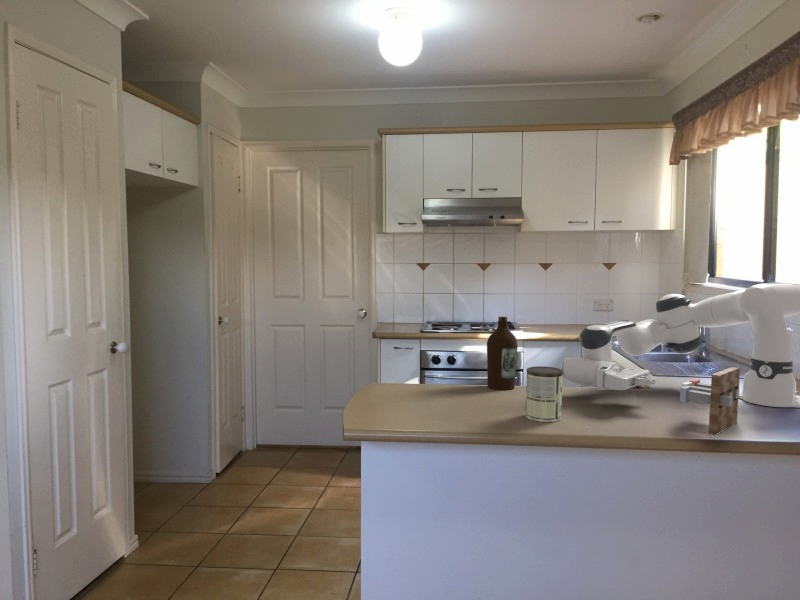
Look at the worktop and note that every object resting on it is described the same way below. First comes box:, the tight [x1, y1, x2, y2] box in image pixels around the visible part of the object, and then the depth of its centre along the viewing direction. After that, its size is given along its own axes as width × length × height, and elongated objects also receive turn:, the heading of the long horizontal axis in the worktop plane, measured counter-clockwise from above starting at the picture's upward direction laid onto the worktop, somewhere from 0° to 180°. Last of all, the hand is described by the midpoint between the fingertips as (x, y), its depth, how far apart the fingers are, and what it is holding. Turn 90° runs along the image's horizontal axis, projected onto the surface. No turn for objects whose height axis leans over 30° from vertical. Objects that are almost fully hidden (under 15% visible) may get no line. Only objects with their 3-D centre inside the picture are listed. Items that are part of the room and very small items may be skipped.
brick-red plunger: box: [689, 378, 740, 399], centre depth 182 cm, size 4×12×4 cm, turn 45°
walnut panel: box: [708, 366, 741, 435], centre depth 175 cm, size 17×2×16 cm, turn 135°
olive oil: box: [486, 316, 518, 391], centre depth 222 cm, size 11×11×25 cm
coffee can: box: [525, 365, 563, 423], centre depth 183 cm, size 10×10×14 cm
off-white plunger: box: [681, 381, 732, 396], centre depth 178 cm, size 4×12×4 cm, turn 45°
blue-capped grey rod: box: [679, 386, 733, 407], centre depth 173 cm, size 4×12×4 cm, turn 45°
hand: (653, 382), depth 192 cm, fingers closed
